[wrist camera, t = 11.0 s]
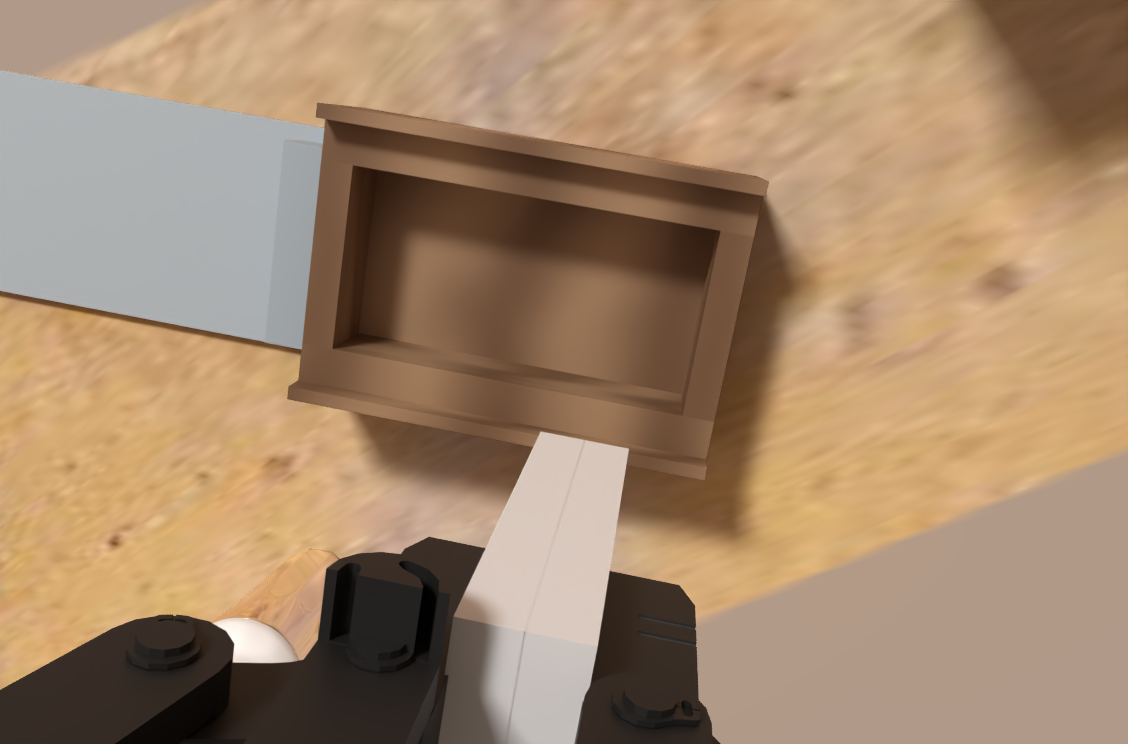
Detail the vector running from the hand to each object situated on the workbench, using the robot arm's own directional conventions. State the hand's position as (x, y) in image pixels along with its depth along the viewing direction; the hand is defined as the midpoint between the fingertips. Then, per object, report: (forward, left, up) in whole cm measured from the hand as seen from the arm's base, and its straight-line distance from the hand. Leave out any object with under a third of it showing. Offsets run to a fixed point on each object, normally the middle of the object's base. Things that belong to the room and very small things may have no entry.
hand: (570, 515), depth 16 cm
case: (+4, 0, -24) cm, 24 cm away
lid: (+20, 0, -25) cm, 32 cm away
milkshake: (+11, +16, -24) cm, 31 cm away
